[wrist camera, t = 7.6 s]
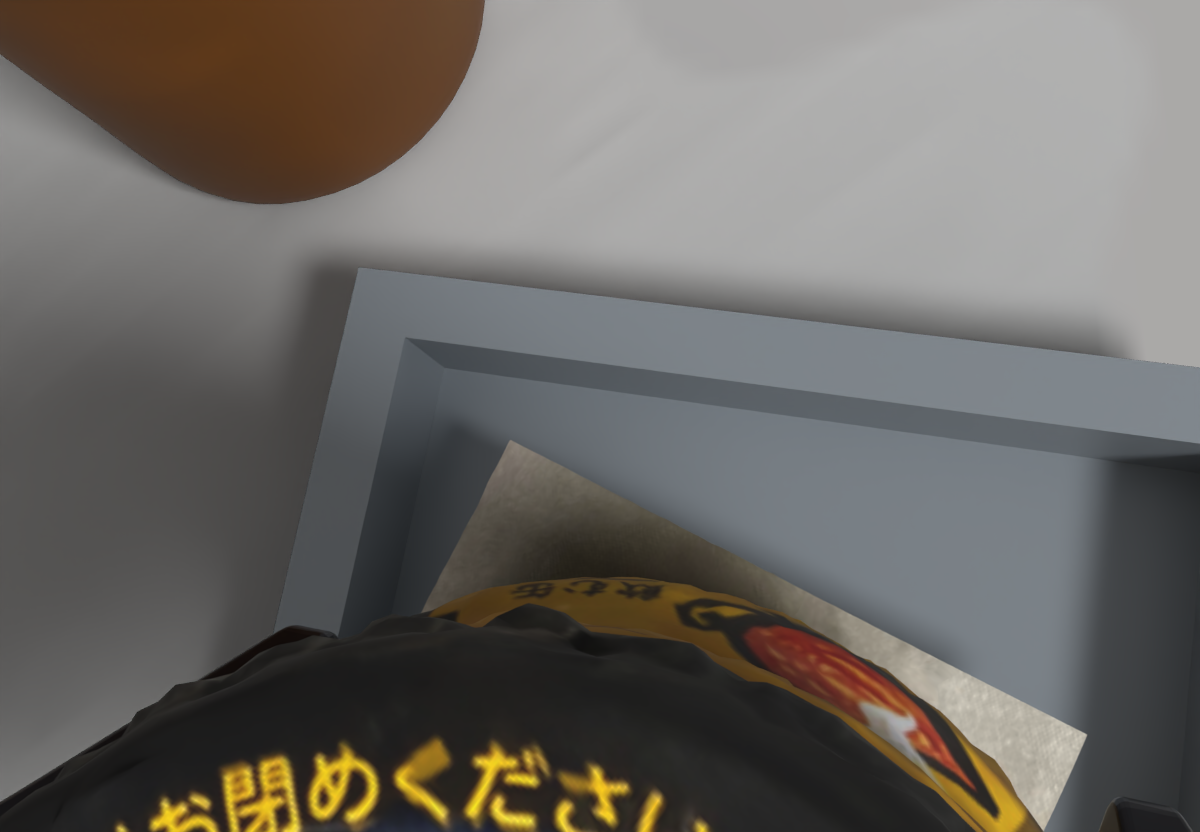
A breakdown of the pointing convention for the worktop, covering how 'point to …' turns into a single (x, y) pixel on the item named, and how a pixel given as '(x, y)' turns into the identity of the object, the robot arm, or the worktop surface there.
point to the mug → (252, 82)
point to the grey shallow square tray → (801, 487)
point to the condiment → (578, 705)
